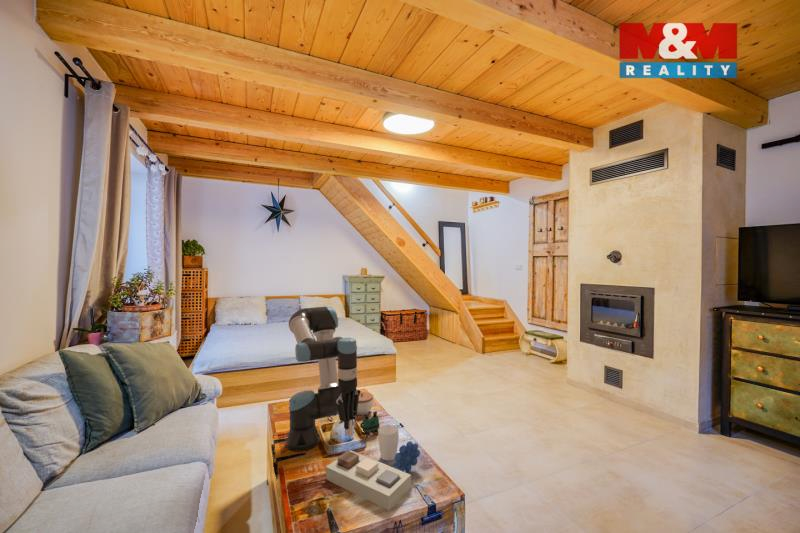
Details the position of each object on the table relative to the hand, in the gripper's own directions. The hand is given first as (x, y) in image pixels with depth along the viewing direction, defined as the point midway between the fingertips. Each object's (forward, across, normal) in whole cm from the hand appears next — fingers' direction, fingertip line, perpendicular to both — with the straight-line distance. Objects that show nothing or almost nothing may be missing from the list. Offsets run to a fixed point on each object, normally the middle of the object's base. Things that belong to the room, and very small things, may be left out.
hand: (348, 435), depth 138 cm
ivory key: (+12, -1, -10) cm, 16 cm away
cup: (+16, +18, -6) cm, 25 cm away
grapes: (+16, +14, -18) cm, 28 cm away
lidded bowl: (+17, +46, +33) cm, 59 cm away
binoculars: (+17, +31, +15) cm, 38 cm away
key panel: (+16, -1, -10) cm, 19 cm away
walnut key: (+12, 0, 0) cm, 12 cm away
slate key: (+13, -1, -20) cm, 24 cm away
